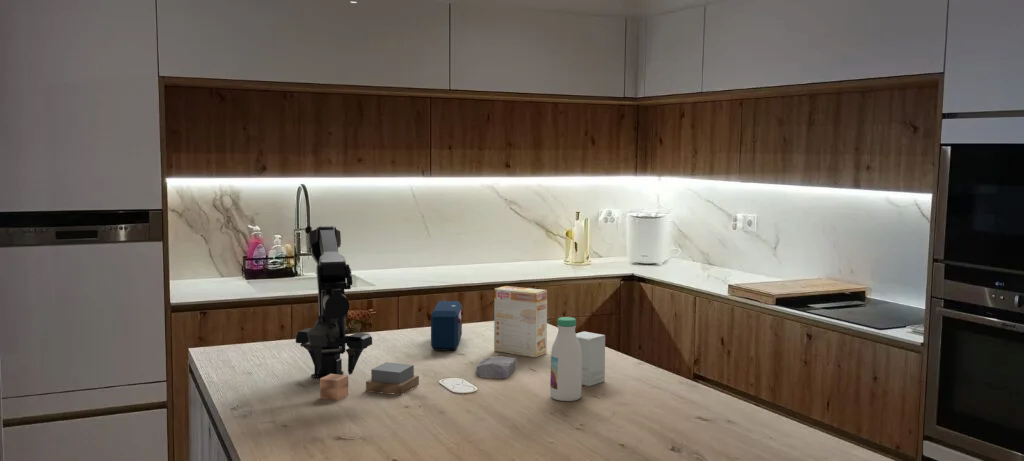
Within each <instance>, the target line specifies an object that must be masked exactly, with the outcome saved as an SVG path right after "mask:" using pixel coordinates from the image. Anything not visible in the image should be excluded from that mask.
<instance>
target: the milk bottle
mask: <svg viewBox="0 0 1024 461" xmlns="http://www.w3.org/2000/svg"><path fill="white" fill-rule="evenodd" d="M556 324H557V328H558V330H557V334H556V336H555V339H554V341H553V344H552V346H551V351H550V379H549V380H550V381H549V382H550V386H549V388H550V390H549V391H550V394H549V395H550V398H551V399H553V400H556V401H562V402H574V401H577V400H580V399H581V397H582V384H581V383H582V353H581V347H580V344H579V341H578V339H577V337H576V327H577V319H576V318H575V317H572V316H571V317H570V316H561V317H559V318H557V322H556Z"/></svg>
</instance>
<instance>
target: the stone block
mask: <svg viewBox="0 0 1024 461" xmlns="http://www.w3.org/2000/svg"><path fill="white" fill-rule="evenodd" d="M516 367H517V358H516V357H508V356H498V355H497V356H492V357H487V358H483V359H482V360H481V361H480V362H478V364H477V365H476V368H475V370H476V374H477V376H478V377H481V378H492V377H493V378H494V379H495V378H496V379H497V378H498V379H508V378H509V377H510V376H511V375H512V374H513V372H514V371H515V369H516Z"/></svg>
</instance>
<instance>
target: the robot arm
mask: <svg viewBox="0 0 1024 461" xmlns="http://www.w3.org/2000/svg"><path fill="white" fill-rule="evenodd" d="M341 245H342V239H341V231H340V229H339V230H338V229H337V227H336V226H334V225H320V226H316V228H315V229H314V230H311V231H309V232H308V236H307V247H308V249H310V255H311V257H312V258H313V261H315V263H316V281H317V282H316V283H317V296H318V298H317V300H318V318H317V320H316V322H315V324H314V326H313V327H312V328H311V327H307V328H304V329H301V330H298V331H297V332H296V334H295V343H296V344H299V345H300V347H301V348H304V349H305V350H306V351H307V352H308V354H309V356H310V358H311V360H312V363H313V366H314V369H313V370H314V371H313V372H314V373H312V374H311V375H310V376H311V377H312V378H319V379H320V378H323V377H325V376H327V375H329V374H338V375H344V371H343V370H342V369H343V367H342V366H343V362H342V358H341V355H344V353H347V355H348V356H347V371H348V372H347V373H348V376H349V375H352V374H353V372H354V370H355V367H356V365H357V363H358V362H359V358H360V356H361V355H362V352H363V351H364V350H366V349H367V348H368V347H370V346H372V345H373V337H372V336H371V334H370V333H368V332H367V333H366V332H355V333H353V334H351V335H348V334H349V329H347V328H346V319H347V318H348V317H349V311H350V301H349V300H348V298H347V297H346V291H345V290H351V287H352V286H353V273H352V268H351V267H350V264H349V263H347V261H346V258H345V256H344V255H343V254H340V252H339V248H341ZM346 346H347V349H346Z"/></svg>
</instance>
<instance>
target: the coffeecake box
mask: <svg viewBox="0 0 1024 461" xmlns="http://www.w3.org/2000/svg"><path fill="white" fill-rule="evenodd" d="M493 294H494V298H493V299H494V304H493V307H494V309H493V312H494V313H493V314H494V316H493V318H494V319H493V320H494V322H493V323H494V324H493V325H494V326H493V329H494V330H493V331H494V332H493V335H494V336H493V337H494V338H493V342H494V343H493V351H494V352H497V353H498V352H499V353H506V354H511V355H518V356H523V357H529V358H537V357H540V356H543V355H546V354H547V353H548V352H547V346H548V345H547V342H548V341H547V340H548V334H547V333H548V290H547V289H541V288H540V289H539V288H538V289H537V288H531V287H519V286H510V285H504V286H500V287H495V288H494V293H493Z"/></svg>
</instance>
